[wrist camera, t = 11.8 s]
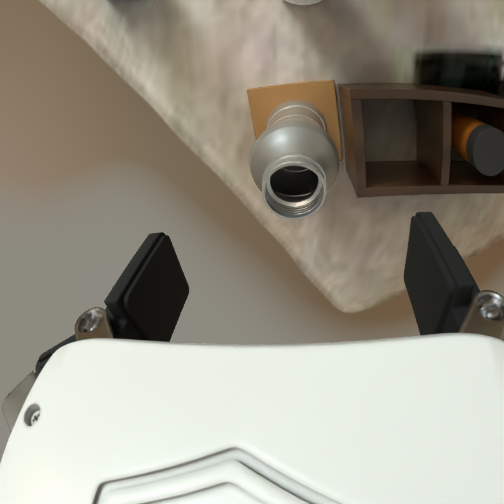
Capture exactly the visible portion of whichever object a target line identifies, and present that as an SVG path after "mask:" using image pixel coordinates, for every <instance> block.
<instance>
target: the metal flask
mask: <svg viewBox="0 0 504 504" xmlns="http://www.w3.org/2000/svg"><path fill="white" fill-rule="evenodd" d="M249 165H250V171H251V174H252V177H253V179H254V182H255V183H256V185H257V186H258V188H259V189H260V190H261V191H262V196H263V200H264V202H265V204H266V206H267V207H268V209H269V210H270V211H271V212H273V213H274V214H275V215H277V216H279V217H281V218H285V219H290V220H299V219H303V218H307V217H309V216H311V215H313V214H314V213H316V212H317V211H318V210H319V209H320V208H321V206H322V205H323V203H324V200H325V197H326V192H327V190H328V189H329V188H330V187H331V185H332V184H333V182H334V180H335V178H336V176H337V173H338V170H339V154H338V150H337V147H336V145H335V143H334V141H333V140H332V138H331V137H330V136H329V135H328V133H327V123H326V119H325V117H324V115H323V113H322V112H321V111H320V110H319V109H318V108H317V107H316V106H315V105H313V104H311V103H309V102H306V101H303V100H290V101H287V102H284V103H282V104H280V105H278V106H277V107H276V108H274V110H273V111H272V112H271V113H270V115H269V117H268V119H267V123H266V130H265V131H264V132H263V133H262V134H261V135H260V136H259V137H258V139H257V140H256V141H255V143H254V145H253V147H252V150H251V153H250V160H249Z"/></svg>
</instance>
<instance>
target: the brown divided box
mask: <svg viewBox="0 0 504 504" xmlns="http://www.w3.org/2000/svg"><path fill="white" fill-rule="evenodd" d="M338 86H339V94H340V102H341V111H342V121H343V131H344V143H345V155H346V170H347V173H348V175H349V178H350V180H351V183H352V185H353V188H354V191H355V193H356V196H357V197H374V196H394V195H418V194H455V193H504V169H503V170H502V171H501V172H500V173H499V174H497V175H494V176H486V175H483V174H482V173H480V172H479V171H478V170H477V169H475V168H474V167H473V166H472V165H471V164H470V163H469V162H468V161H450V157H451V102H459V103H468V104H477V105H478V120H479V121H481V122H483V123H485V124H488V125H491V126H493V127H495V128H497V129H499V130H500V131H502V132H503V133H504V97H501V96H498V95H495V94H491V93H488V92H485V91H480V90H473V89H466V88H458V87H449V86H438V85H425V84H406V83H349V84H338ZM361 99H414V100H416V118H417V161H388V162H365V143H364V128H363V115H362V104H361Z"/></svg>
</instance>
